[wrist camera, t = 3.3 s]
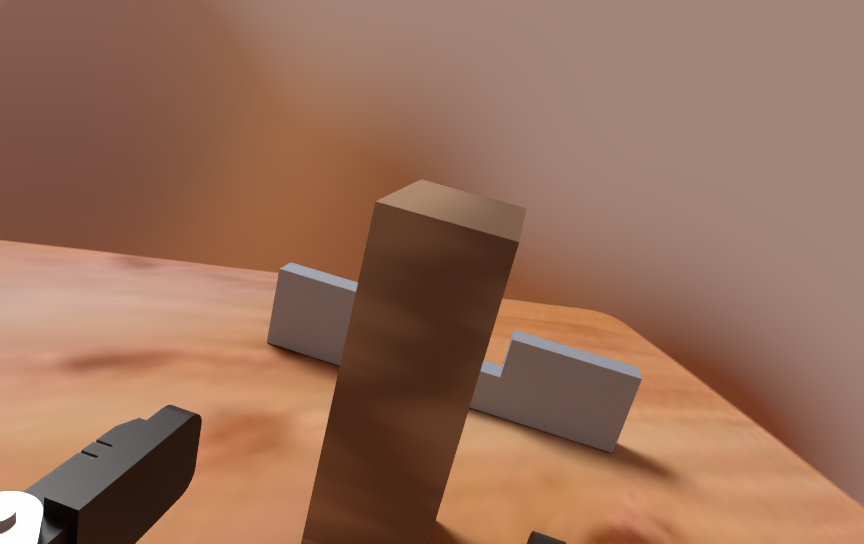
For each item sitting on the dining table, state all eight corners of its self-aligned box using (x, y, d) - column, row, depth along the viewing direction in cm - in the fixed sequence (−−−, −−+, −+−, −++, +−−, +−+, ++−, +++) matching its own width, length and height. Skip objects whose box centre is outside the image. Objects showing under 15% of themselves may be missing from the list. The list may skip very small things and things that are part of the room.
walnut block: (290, 594, 20) (375, 201, 15) (347, 487, 25) (421, 179, 21) (400, 635, 19) (519, 241, 15) (433, 517, 25) (526, 208, 21)
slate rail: (267, 342, 36) (279, 268, 34) (278, 333, 37) (290, 262, 36) (612, 453, 33) (641, 378, 32) (609, 438, 35) (637, 367, 33)
